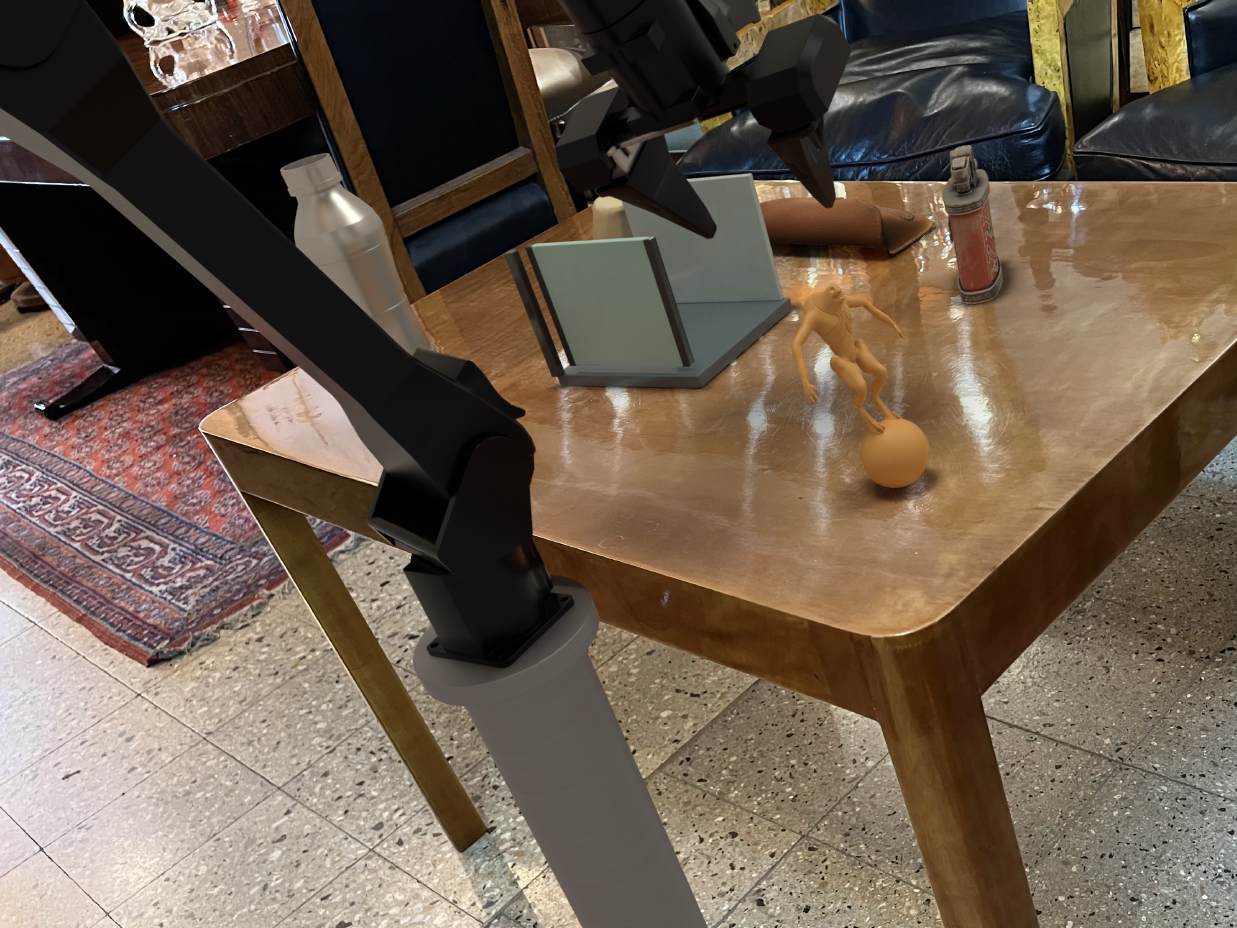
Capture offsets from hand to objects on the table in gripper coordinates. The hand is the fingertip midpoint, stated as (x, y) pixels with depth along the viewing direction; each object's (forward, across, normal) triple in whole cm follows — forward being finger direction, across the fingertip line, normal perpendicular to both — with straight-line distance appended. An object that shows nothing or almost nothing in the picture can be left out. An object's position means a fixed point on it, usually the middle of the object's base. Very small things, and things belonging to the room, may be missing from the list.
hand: (770, 219), depth 75 cm
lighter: (+19, -4, -12) cm, 23 cm away
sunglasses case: (+21, +15, -24) cm, 36 cm away
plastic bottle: (+6, +37, +5) cm, 38 cm away
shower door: (+9, +19, +1) cm, 21 cm away
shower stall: (+12, +19, -4) cm, 23 cm away
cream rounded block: (+16, +32, -18) cm, 40 cm away
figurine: (+9, -8, +15) cm, 19 cm away
